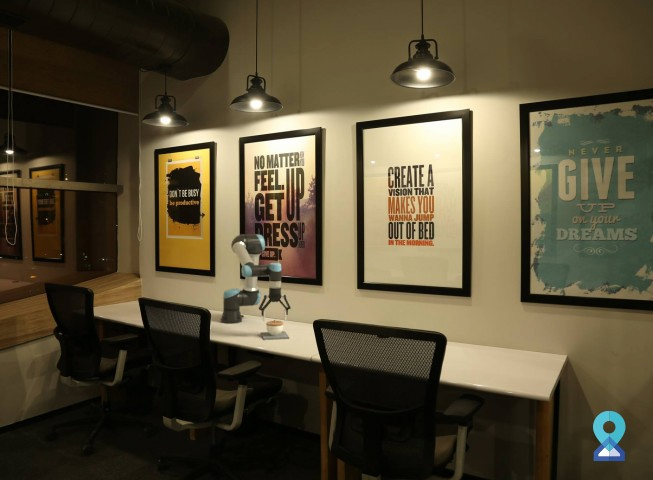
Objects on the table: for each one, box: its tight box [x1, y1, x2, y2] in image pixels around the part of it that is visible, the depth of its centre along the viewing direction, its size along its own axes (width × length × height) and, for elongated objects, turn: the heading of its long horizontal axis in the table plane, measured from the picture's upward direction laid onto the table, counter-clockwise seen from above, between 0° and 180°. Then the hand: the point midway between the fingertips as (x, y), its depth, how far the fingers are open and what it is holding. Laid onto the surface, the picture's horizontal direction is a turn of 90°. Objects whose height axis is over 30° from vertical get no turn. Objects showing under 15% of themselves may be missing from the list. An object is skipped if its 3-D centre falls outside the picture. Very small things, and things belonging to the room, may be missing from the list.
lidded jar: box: [266, 319, 284, 336], centre depth 304 cm, size 11×11×9 cm
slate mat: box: [260, 330, 290, 341], centre depth 305 cm, size 16×16×1 cm
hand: (274, 320), depth 304 cm, fingers open, 13 cm apart
